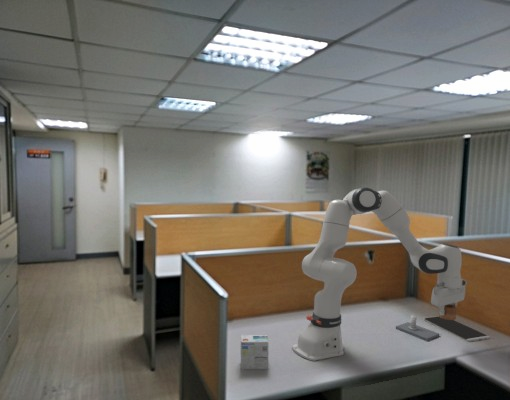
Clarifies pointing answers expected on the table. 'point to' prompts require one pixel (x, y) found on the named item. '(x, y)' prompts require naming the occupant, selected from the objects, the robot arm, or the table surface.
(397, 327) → the post stand
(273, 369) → the table surface
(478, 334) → the smartphone
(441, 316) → the ring
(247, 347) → the light bulb box
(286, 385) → the table surface
